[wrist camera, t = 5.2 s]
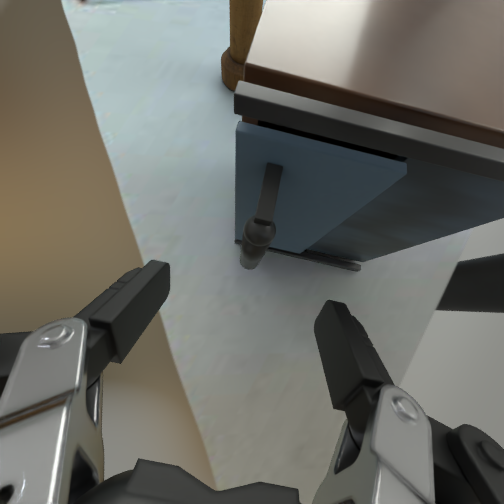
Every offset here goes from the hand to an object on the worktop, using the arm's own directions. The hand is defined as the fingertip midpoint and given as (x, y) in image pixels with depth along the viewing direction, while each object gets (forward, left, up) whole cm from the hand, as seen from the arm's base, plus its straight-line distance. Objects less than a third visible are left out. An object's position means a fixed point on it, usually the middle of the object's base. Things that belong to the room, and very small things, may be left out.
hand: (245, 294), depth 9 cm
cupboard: (-5, -13, -11) cm, 18 cm away
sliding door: (-2, -4, -10) cm, 11 cm away
